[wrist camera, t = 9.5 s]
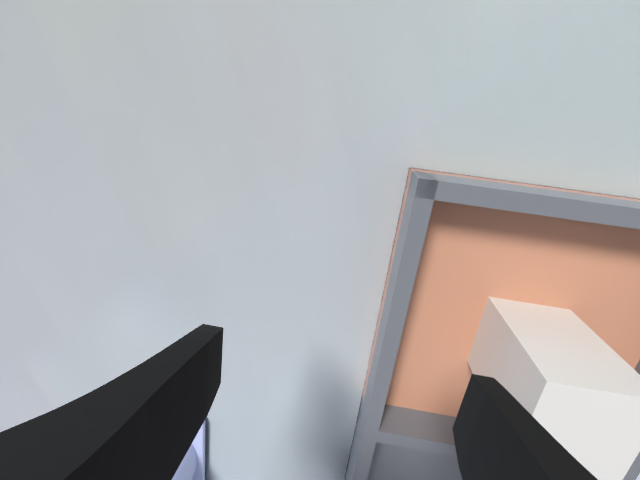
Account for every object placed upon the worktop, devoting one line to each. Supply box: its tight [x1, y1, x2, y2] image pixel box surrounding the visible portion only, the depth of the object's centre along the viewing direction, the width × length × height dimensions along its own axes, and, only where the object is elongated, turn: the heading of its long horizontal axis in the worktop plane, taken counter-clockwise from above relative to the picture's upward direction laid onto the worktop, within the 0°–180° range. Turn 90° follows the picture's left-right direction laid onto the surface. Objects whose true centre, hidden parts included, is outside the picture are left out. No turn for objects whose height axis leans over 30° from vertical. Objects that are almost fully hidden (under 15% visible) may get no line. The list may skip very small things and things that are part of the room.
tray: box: [345, 168, 640, 480], centre depth 20 cm, size 28×14×3 cm, turn 173°
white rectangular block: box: [467, 297, 640, 480], centre depth 15 cm, size 4×4×6 cm
